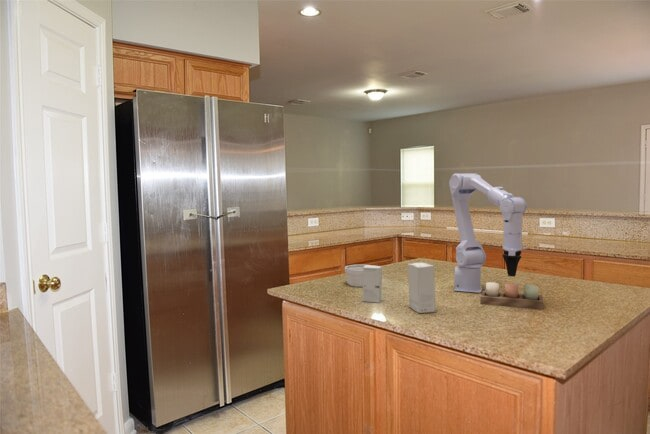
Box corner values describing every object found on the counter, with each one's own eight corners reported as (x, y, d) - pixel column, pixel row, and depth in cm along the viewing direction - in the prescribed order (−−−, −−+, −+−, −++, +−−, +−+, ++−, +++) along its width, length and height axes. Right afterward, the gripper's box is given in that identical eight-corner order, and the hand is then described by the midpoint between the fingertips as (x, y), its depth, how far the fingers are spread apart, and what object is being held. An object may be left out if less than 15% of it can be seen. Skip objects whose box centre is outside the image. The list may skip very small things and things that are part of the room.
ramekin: (377, 280, 191) (377, 264, 190) (377, 288, 178) (377, 270, 177) (345, 280, 192) (345, 264, 191) (343, 287, 179) (343, 270, 178)
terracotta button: (504, 297, 152) (504, 285, 152) (504, 294, 156) (505, 283, 156) (518, 298, 150) (518, 286, 150) (518, 295, 154) (518, 284, 154)
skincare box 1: (362, 301, 158) (362, 267, 157) (365, 298, 162) (364, 264, 161) (380, 302, 156) (379, 267, 155) (382, 299, 160) (382, 265, 159)
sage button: (524, 299, 150) (524, 287, 149) (524, 296, 154) (524, 284, 153) (538, 300, 148) (538, 288, 148) (537, 297, 152) (538, 285, 152)
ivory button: (485, 296, 154) (485, 284, 154) (486, 293, 158) (486, 281, 158) (498, 297, 153) (498, 285, 152) (499, 294, 157) (499, 282, 156)
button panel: (480, 303, 153) (480, 296, 153) (482, 297, 161) (482, 290, 161) (543, 309, 145) (543, 301, 145) (542, 302, 154) (542, 295, 153)
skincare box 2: (435, 312, 144) (436, 265, 143) (418, 313, 143) (418, 266, 141) (424, 305, 152) (424, 261, 151) (407, 306, 151) (407, 262, 150)
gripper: (525, 236, 143) (525, 279, 144) (525, 231, 157) (524, 270, 158) (501, 235, 146) (501, 277, 147) (503, 230, 159) (502, 269, 160)
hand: (511, 273), depth 153 cm, fingers open, 7 cm apart
